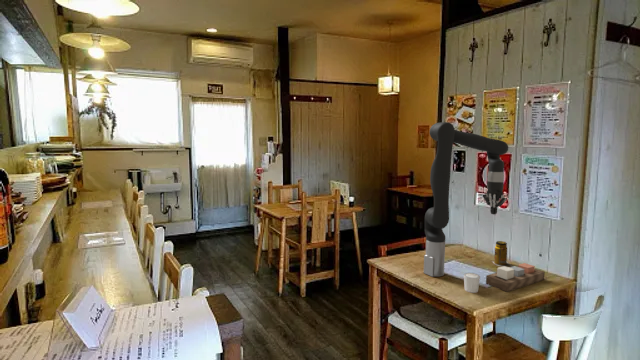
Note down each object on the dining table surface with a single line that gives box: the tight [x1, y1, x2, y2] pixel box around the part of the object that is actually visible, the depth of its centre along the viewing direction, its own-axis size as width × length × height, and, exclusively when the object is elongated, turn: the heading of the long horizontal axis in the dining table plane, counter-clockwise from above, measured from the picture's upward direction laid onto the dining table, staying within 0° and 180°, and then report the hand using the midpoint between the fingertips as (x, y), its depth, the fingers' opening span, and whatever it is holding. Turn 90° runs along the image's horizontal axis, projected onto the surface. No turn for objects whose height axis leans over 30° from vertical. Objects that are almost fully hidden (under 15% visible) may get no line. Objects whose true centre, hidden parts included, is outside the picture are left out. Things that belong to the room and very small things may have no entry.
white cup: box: [463, 272, 481, 294], centre depth 171 cm, size 7×7×7 cm
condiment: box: [491, 240, 514, 267], centre depth 205 cm, size 7×8×12 cm
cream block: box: [496, 266, 514, 280], centre depth 176 cm, size 5×5×4 cm
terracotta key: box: [517, 262, 535, 274], centre depth 184 cm, size 5×5×4 cm
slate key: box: [508, 265, 524, 277], centre depth 180 cm, size 5×5×4 cm
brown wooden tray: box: [485, 268, 545, 293], centre depth 181 cm, size 28×11×4 cm, turn 120°
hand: (493, 214), depth 195 cm, fingers closed
